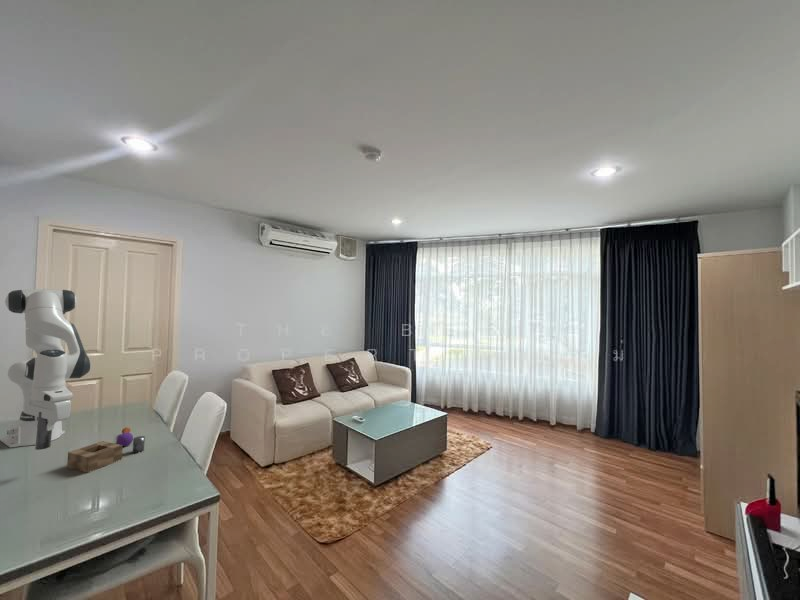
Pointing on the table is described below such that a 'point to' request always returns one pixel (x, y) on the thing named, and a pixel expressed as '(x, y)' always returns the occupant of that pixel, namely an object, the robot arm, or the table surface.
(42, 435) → the long pin
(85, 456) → the hole block
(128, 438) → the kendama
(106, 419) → the table surface
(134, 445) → the short pin
